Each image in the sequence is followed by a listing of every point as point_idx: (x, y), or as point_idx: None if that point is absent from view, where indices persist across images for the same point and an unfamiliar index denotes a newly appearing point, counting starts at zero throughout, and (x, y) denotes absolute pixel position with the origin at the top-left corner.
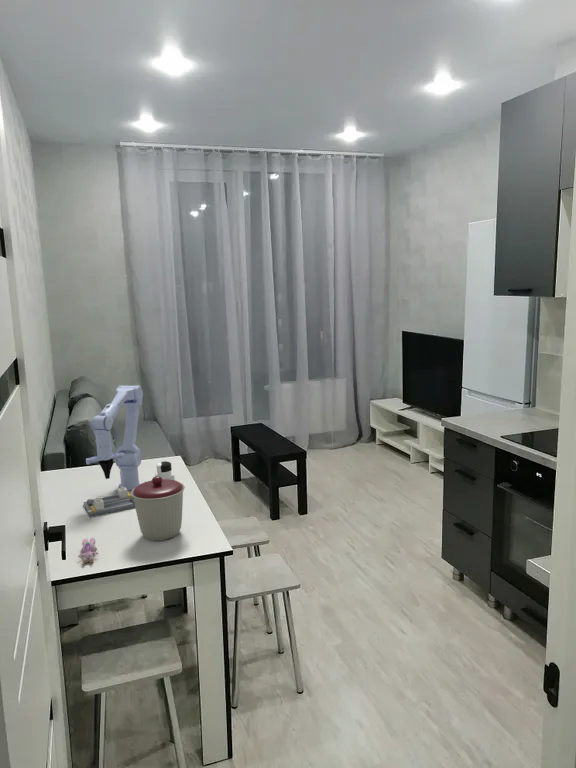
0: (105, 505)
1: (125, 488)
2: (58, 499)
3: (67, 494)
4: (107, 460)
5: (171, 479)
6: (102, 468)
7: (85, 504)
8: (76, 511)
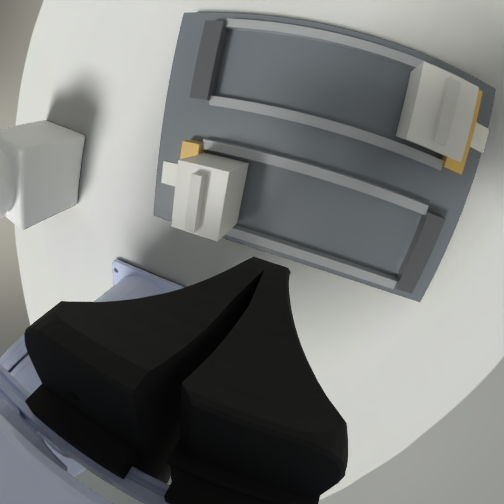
0: (373, 134)
1: (179, 191)
2: (420, 413)
3: (368, 427)
4: (117, 457)
5: (8, 129)
6: (311, 371)
7: (437, 260)
8: (488, 241)
